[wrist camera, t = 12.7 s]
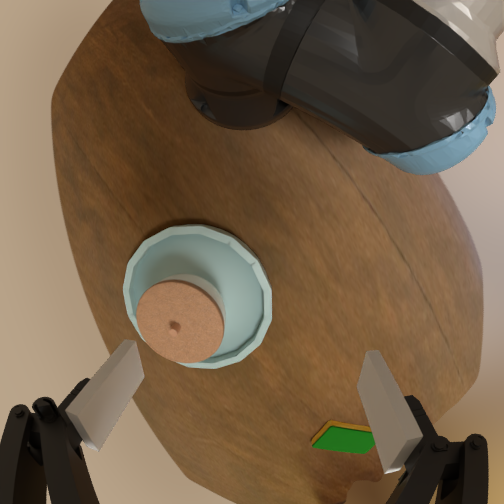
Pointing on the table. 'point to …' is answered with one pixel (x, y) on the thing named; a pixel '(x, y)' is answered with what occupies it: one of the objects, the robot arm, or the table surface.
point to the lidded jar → (182, 318)
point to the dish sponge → (344, 437)
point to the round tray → (217, 273)
